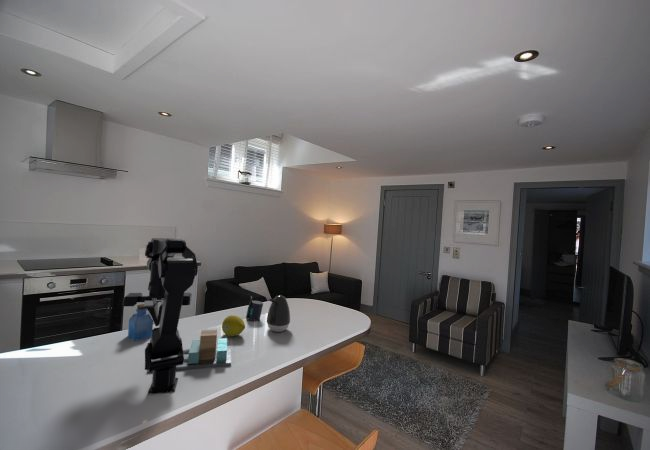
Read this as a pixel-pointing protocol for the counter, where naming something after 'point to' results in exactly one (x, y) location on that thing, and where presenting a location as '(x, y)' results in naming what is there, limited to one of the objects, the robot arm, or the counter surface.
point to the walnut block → (208, 344)
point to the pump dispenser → (278, 314)
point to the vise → (220, 359)
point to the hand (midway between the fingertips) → (157, 325)
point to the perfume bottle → (140, 324)
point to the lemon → (233, 325)
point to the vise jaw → (192, 352)
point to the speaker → (254, 310)
